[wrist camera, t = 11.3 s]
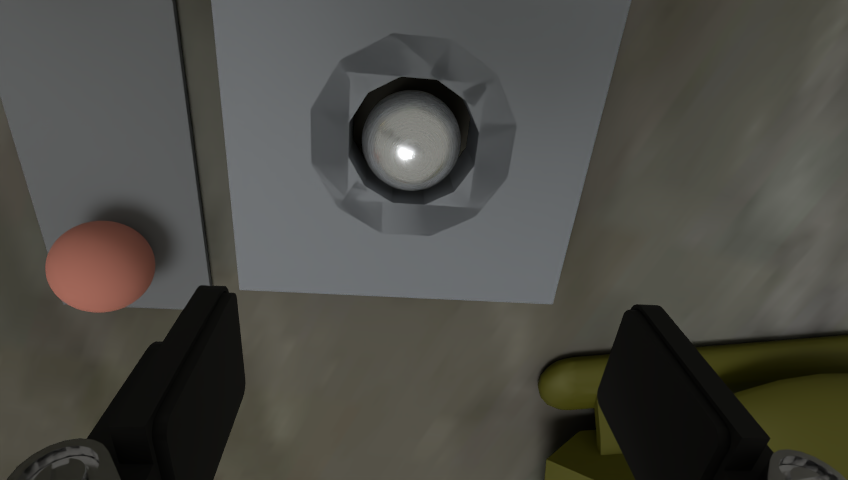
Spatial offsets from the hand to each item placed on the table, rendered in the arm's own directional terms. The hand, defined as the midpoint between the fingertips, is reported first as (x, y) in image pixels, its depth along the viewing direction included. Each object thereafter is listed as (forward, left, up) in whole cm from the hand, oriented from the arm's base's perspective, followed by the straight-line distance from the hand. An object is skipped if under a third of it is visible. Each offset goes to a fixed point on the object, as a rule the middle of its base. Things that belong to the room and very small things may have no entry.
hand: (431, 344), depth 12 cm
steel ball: (0, 0, -17) cm, 17 cm away
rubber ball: (+9, -18, -17) cm, 26 cm away
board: (0, 0, -20) cm, 20 cm away
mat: (0, -18, -20) cm, 27 cm away
